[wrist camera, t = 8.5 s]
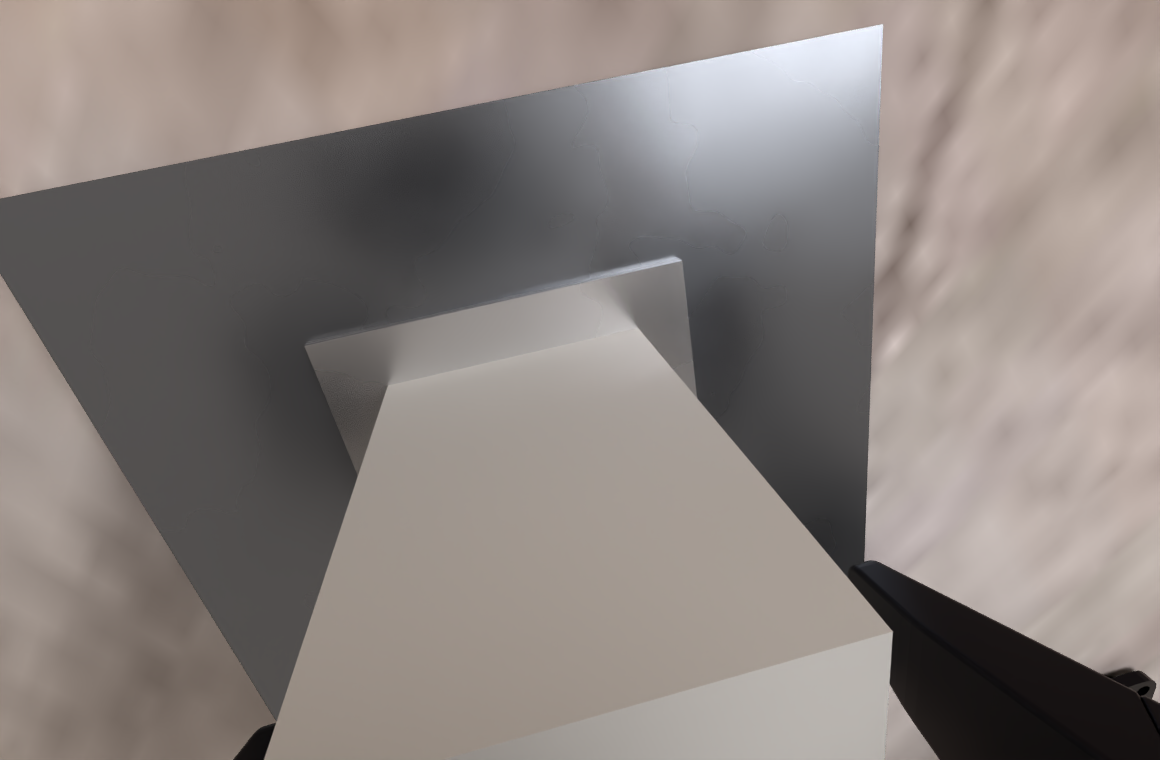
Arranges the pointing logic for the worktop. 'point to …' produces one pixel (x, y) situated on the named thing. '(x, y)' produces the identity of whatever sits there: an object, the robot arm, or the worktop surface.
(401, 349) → the duct plate
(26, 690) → the worktop surface
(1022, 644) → the robot arm
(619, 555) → the light grey block
